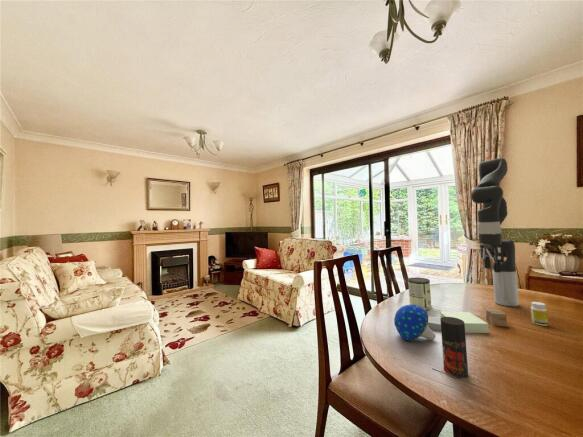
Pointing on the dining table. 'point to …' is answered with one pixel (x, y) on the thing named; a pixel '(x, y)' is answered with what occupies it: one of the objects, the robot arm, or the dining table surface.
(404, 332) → the mushroom
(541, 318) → the supplement bottle
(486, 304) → the dining table surface
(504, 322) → the walnut cube
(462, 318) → the sage block
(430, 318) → the slate block
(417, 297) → the coffee can
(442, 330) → the deodorant
